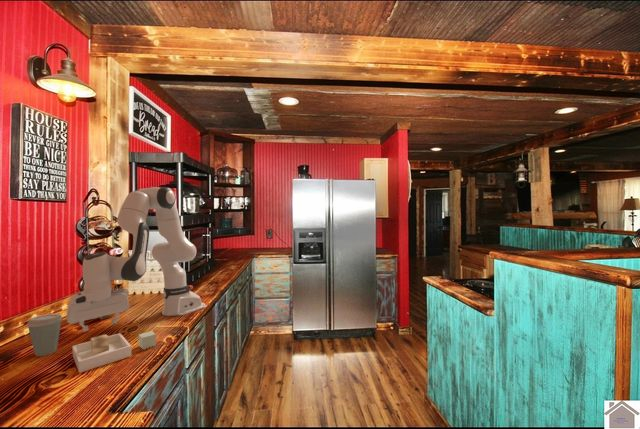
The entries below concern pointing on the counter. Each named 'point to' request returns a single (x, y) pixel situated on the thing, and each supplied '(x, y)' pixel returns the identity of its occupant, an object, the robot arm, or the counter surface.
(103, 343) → the maple block
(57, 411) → the counter surface
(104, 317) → the cupcake
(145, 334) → the sage block
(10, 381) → the counter surface
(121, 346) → the tray
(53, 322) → the disposable coffee cup
